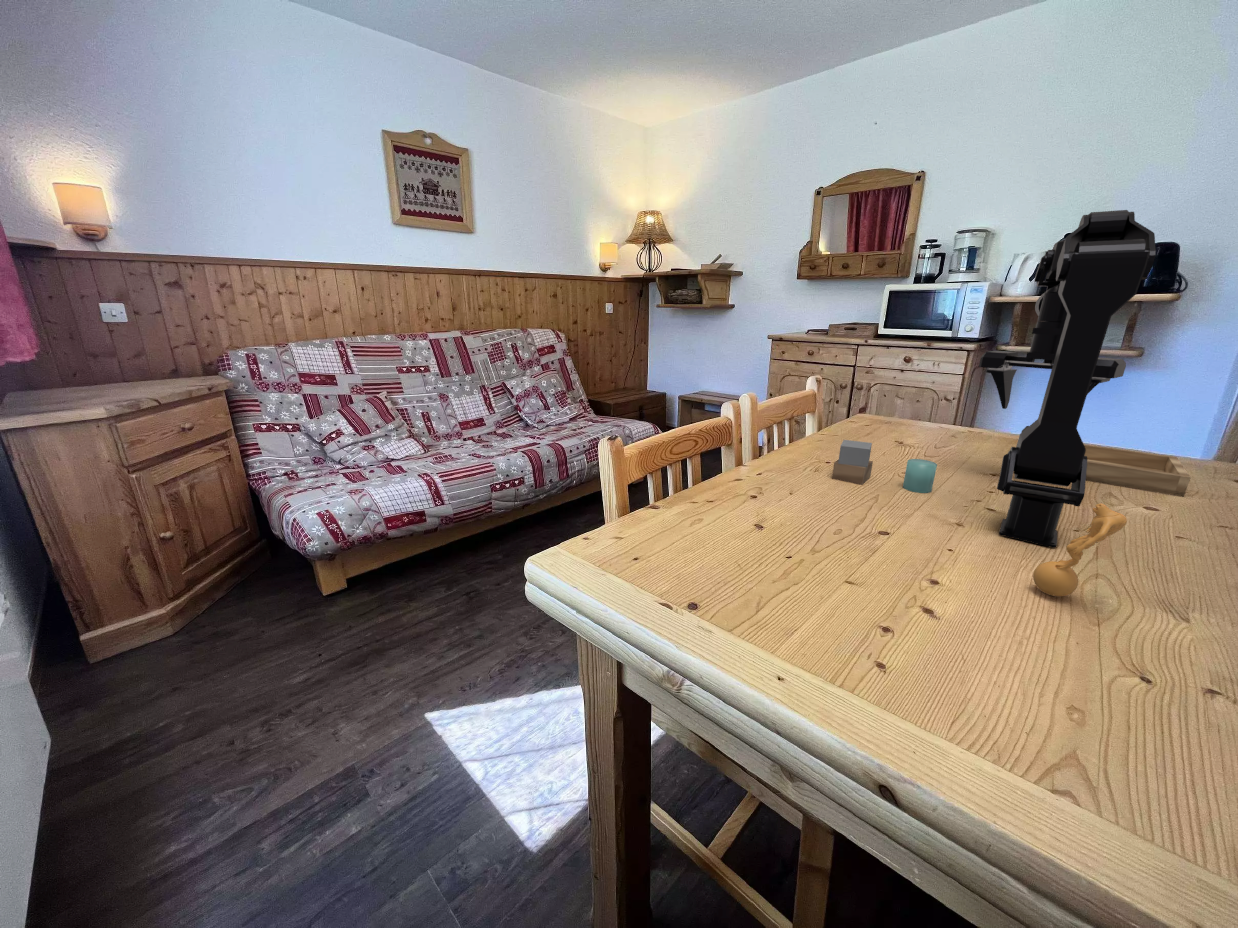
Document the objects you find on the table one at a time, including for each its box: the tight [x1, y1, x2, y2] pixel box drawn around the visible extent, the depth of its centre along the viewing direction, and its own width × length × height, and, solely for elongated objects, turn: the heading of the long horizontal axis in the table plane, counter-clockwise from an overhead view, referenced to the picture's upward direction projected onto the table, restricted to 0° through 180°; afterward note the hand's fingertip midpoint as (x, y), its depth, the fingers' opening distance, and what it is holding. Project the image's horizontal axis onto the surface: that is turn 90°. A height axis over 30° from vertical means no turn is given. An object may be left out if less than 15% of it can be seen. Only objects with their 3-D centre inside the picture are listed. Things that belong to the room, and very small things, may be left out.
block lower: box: [831, 458, 874, 486], centre depth 96 cm, size 6×6×4 cm
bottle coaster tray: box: [1083, 443, 1192, 497], centre depth 98 cm, size 16×16×4 cm
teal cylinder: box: [902, 458, 938, 494], centre depth 91 cm, size 5×5×5 cm
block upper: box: [838, 439, 873, 467], centre depth 95 cm, size 5×5×4 cm
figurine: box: [1032, 503, 1128, 597], centre depth 56 cm, size 8×6×12 cm
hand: (1034, 412), depth 89 cm, fingers open, 9 cm apart
